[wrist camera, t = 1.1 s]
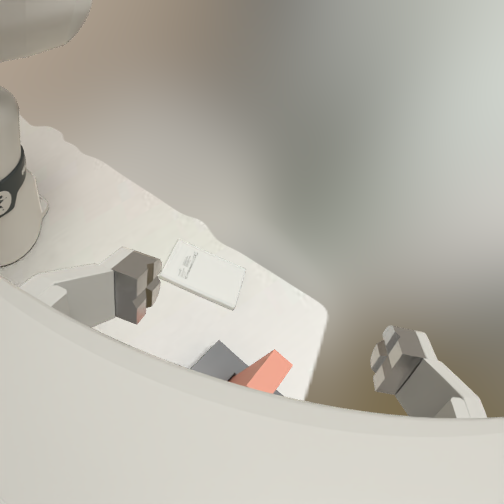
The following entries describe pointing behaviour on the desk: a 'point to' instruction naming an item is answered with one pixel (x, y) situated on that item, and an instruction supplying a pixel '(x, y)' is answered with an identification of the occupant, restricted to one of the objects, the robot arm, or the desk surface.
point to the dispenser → (221, 363)
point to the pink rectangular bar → (264, 373)
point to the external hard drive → (204, 274)
